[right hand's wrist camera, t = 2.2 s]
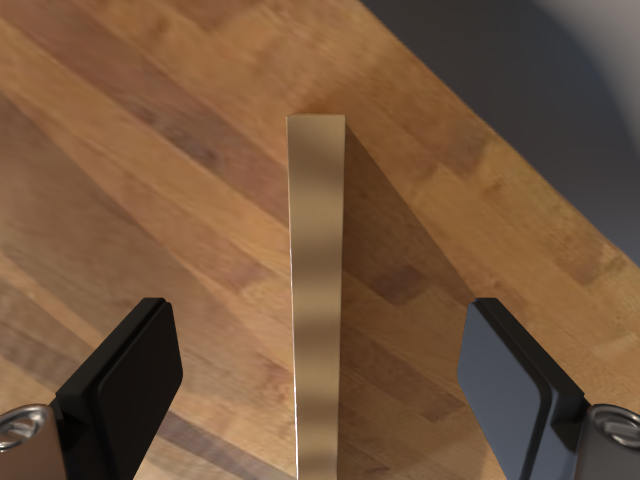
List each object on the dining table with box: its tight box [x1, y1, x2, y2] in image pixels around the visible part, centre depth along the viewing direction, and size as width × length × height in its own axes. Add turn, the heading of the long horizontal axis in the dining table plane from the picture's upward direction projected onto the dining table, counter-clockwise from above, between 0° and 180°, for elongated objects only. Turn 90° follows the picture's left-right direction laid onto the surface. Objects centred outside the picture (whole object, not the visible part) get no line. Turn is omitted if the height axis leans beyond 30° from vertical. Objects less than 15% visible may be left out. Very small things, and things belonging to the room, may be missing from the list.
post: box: [286, 113, 346, 480], centre depth 40 cm, size 56×4×9 cm, turn 0°
